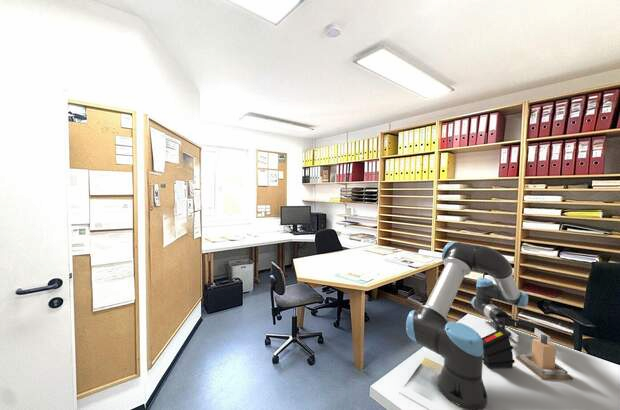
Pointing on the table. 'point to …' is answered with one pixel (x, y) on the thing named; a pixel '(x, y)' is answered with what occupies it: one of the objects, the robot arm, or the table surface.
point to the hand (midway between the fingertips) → (533, 339)
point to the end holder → (542, 373)
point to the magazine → (497, 350)
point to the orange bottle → (543, 353)
